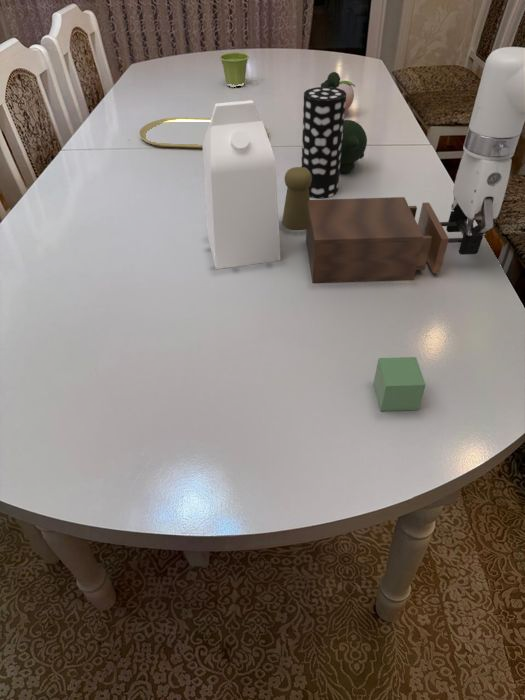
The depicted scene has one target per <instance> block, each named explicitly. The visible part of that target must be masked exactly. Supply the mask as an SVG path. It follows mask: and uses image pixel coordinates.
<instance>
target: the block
mask: <svg viewBox="0 0 525 700" xmlns="http://www.w3.org/2000/svg"><path fill="white" fill-rule="evenodd" d="M373 387H374V391H375V396H376V398H377V399H376V400H377V403H378V407H379V411H380V412H394V411H396V412H397V411H419V409H420V404H421V401H422V397H423V395H424V392H425V389H426V382H425V379H424V376H423V373H422V370H421V367H420V365H419V362H418V359H417V357H416V356H404V357H403V356H401V357H379V358H378V359H377V363H376V368H375V374H374V379H373Z"/></svg>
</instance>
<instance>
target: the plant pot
mask: <svg viewBox="0 0 525 700" xmlns="http://www.w3.org/2000/svg"><path fill="white" fill-rule="evenodd" d="M249 57H250V56H249V54H247V53H245V52H227V53H223V54H221V55H219V59H220V60H221V64H222V67H223V73H224V78H225V84H226V83H227V84H232V85H233V84H234V85H238V84H242V83H244V82H245V83H246V73H247V65H248V60H249ZM227 87H228V88H230V89H231V88H232V89H237V87H235V88H234V87H229V86H227ZM243 87H244V86H241V87H240V88H243Z"/></svg>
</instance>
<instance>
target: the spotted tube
mask: <svg viewBox="0 0 525 700" xmlns="http://www.w3.org/2000/svg"><path fill="white" fill-rule="evenodd" d="M345 104H346V92H345V91H344V90H341V89H338V88H333V87H321V86H317V87H311V88H308V89H307V90H305V91H304V92H303V105H302V106H303V107H302V137H301V139H302V140H301V163H300V164H301V166H300V167H303V168H306V169H308V170H309V171H310V173H311V175H312V182H311V185H310V186H309V197H310V198H312V199H327V198H328V199H329V198H331V197H333V196H335V195H336V194H337V193H338V191H339V183H340V182H339V181H340V173H341V172H340V160H341V149H342V138H343V126H344V120H345V115H346V114H345V112H346V111H345Z"/></svg>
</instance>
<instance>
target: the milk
mask: <svg viewBox="0 0 525 700" xmlns="http://www.w3.org/2000/svg"><path fill="white" fill-rule="evenodd" d="M213 106H214V107H213V109H212V114H211V117H210V118H211V120H210V124H209V126H208V129H207V131H206V134H205V136H204V139H203V148H202V160H203V161H202V162H203V163H202V164H203V182H204V196H205V197H204V199H205V213H206V215H205V216H206V217H205V219H206V233H207V240H208V244H209V247H210V248H209V249H210V251H211V257H212V260H213V263H214V268H215V270H221V269H229V268H235V267H236V268H237V267H243V266H249V265H257V264H264V263H271V262H278V261H281V242H280V225H279V224H280V222H279V221H280V219H279V203H278V202H279V200H278V179H277V178H278V177H277V163H276V158H275V154H274V151H273V148H272V145H271V142H270V139H269V136H268V133H266V130H265V127H266V126H265V125H264V122H263V120H262V117H261V116H260V112H259V111H258V108H257V107H256V104H255V103H254V101H253V100H252V99H249V100H240V101H238V100H237V101H230V102H229V101H228V102H219V103H217V102H216V103H214V105H213ZM264 126H265V127H264Z"/></svg>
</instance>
